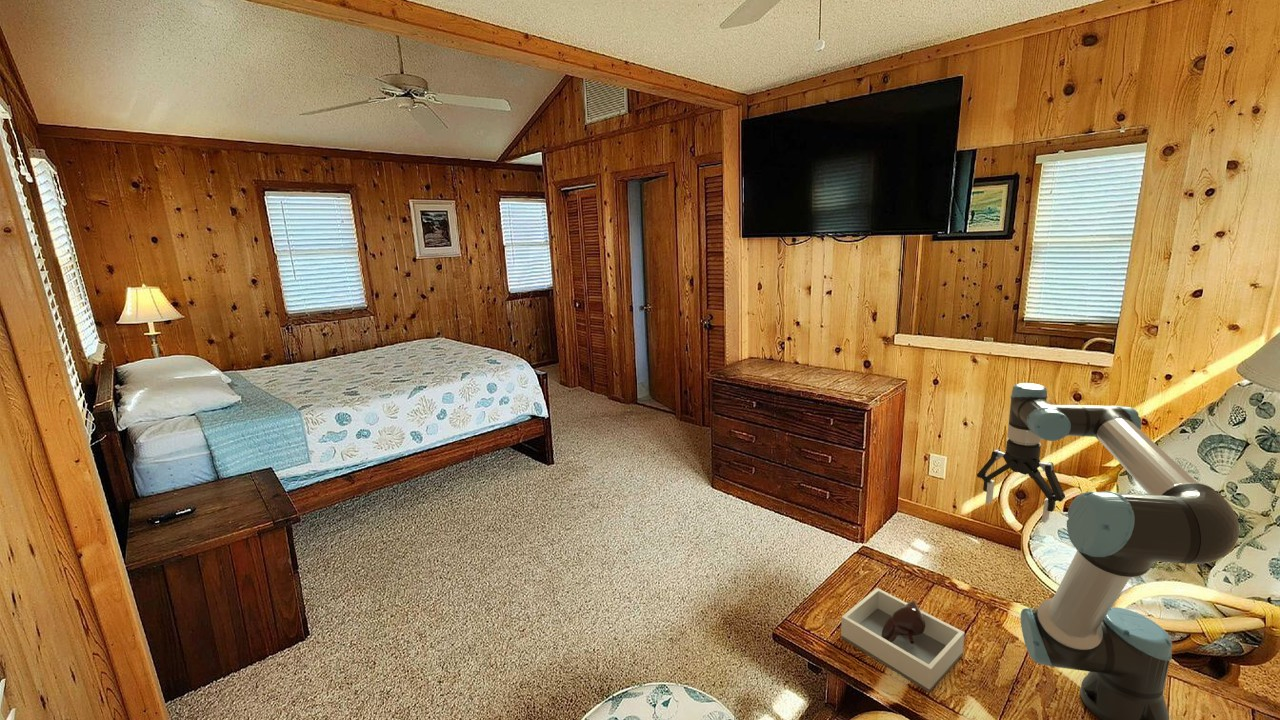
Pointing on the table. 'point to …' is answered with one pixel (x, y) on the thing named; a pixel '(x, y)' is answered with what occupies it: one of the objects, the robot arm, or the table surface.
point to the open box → (903, 640)
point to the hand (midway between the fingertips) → (1016, 511)
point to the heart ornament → (904, 623)
